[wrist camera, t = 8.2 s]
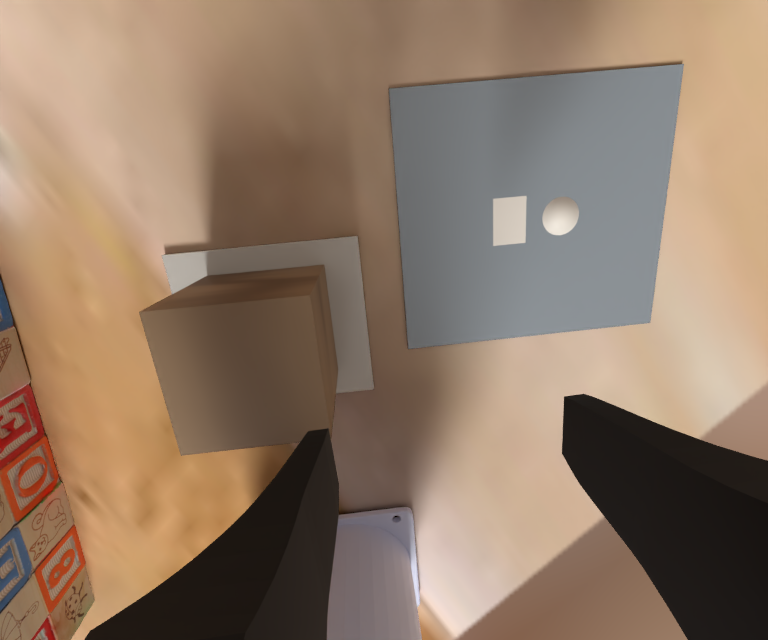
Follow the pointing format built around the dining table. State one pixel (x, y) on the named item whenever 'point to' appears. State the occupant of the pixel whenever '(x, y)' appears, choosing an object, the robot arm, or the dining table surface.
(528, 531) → the dining table surface
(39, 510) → the stack of blocks
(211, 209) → the dining table surface
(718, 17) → the dining table surface
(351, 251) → the rubber mat
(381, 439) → the dining table surface
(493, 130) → the blue-gray square plate
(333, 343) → the walnut block
